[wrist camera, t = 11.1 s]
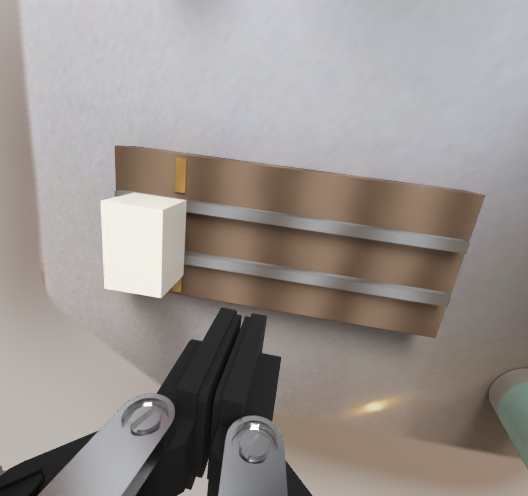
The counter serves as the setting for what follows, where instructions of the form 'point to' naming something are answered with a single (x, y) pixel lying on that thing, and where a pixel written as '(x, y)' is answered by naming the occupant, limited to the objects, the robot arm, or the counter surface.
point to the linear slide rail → (311, 237)
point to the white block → (143, 243)
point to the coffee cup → (513, 407)
